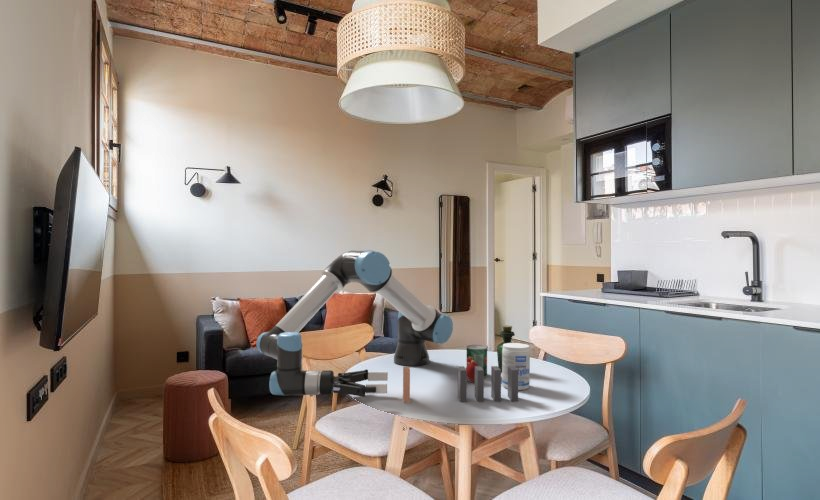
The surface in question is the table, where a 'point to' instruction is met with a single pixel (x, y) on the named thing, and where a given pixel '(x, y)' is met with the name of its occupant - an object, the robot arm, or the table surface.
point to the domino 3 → (496, 383)
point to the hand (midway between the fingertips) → (387, 382)
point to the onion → (471, 371)
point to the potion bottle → (507, 338)
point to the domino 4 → (512, 383)
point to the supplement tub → (516, 363)
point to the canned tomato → (478, 356)
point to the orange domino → (406, 384)
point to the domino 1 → (462, 384)
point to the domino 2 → (479, 384)
